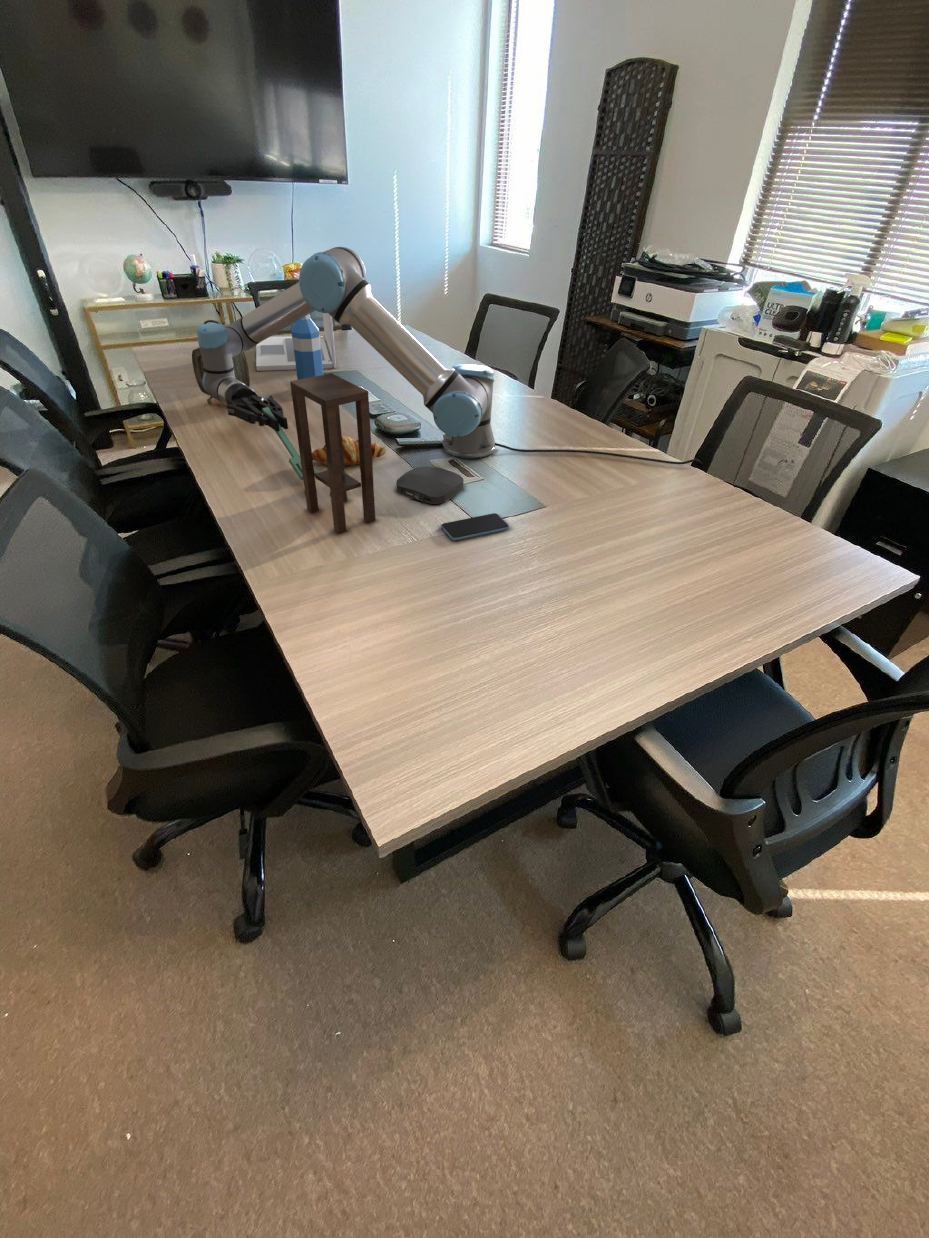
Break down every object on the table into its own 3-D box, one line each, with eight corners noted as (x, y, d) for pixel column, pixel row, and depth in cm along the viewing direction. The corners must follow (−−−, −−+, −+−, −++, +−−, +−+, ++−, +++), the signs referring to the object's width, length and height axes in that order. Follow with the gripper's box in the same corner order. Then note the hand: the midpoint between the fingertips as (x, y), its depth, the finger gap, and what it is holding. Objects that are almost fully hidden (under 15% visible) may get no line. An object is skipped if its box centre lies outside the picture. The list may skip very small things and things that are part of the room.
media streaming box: (469, 486, 157) (469, 475, 155) (438, 508, 147) (439, 497, 145) (422, 471, 162) (422, 461, 160) (390, 492, 152) (389, 481, 150)
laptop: (257, 341, 252) (244, 266, 234) (327, 340, 258) (320, 266, 241) (257, 371, 222) (243, 287, 205) (336, 368, 229) (329, 287, 211)
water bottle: (319, 396, 204) (311, 316, 188) (293, 393, 205) (283, 313, 189) (330, 388, 211) (322, 309, 195) (304, 385, 212) (295, 307, 197)
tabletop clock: (201, 405, 193) (182, 320, 177) (217, 396, 200) (199, 314, 184) (242, 411, 191) (226, 325, 175) (257, 401, 198) (242, 319, 182)
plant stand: (307, 509, 144) (289, 381, 125) (343, 498, 149) (331, 373, 130) (339, 534, 136) (325, 400, 117) (375, 520, 141) (368, 391, 122)
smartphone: (511, 526, 140) (453, 538, 134) (510, 529, 140) (452, 542, 135) (496, 511, 145) (439, 523, 139) (495, 514, 145) (439, 526, 140)
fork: (256, 412, 150) (257, 408, 149) (272, 408, 152) (273, 405, 151) (300, 480, 146) (301, 477, 145) (316, 475, 149) (317, 472, 148)
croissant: (383, 463, 173) (379, 434, 171) (392, 460, 164) (388, 430, 162) (309, 470, 166) (304, 441, 165) (313, 468, 157) (308, 436, 155)
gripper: (266, 405, 167) (310, 433, 154) (215, 416, 159) (256, 446, 146) (261, 378, 162) (306, 403, 149) (208, 388, 154) (251, 416, 141)
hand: (281, 424), depth 147 cm, fingers closed on fork, 2 cm apart
